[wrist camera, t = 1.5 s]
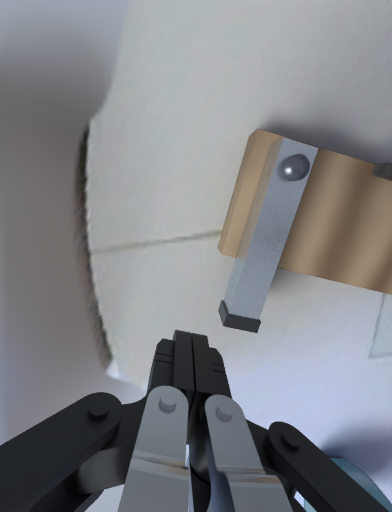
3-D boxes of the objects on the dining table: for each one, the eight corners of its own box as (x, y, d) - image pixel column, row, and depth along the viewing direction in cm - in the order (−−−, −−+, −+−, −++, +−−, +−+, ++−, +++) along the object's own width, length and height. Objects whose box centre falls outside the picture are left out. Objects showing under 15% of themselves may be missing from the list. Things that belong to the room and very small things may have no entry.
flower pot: (288, 488, 38) (319, 575, 30) (302, 444, 36) (340, 524, 27) (341, 490, 39) (386, 576, 30) (358, 447, 37) (412, 526, 28)
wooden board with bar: (449, 195, 28) (499, 196, 23) (402, 292, 31) (439, 308, 26) (249, 135, 25) (263, 124, 21) (217, 247, 28) (224, 258, 24)
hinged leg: (268, 143, 22) (286, 134, 19) (303, 154, 23) (326, 146, 19) (218, 310, 26) (224, 329, 23) (248, 316, 27) (259, 336, 23)
